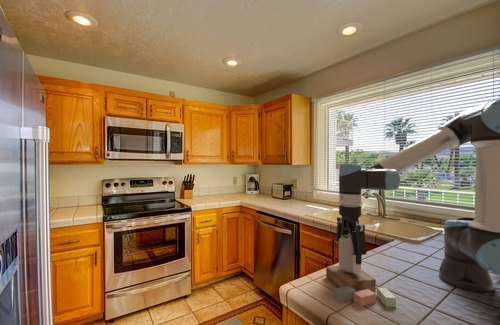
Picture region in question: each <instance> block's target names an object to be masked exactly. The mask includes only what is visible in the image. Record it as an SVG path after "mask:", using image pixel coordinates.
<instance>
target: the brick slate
mask: <svg viewBox="0 0 500 325" xmlns="http://www.w3.org/2000/svg"><path fill="white" fill-rule="evenodd" d="M354 292H356V290H355V289H353V288H352V287H350V286H346V287H341V288H337V287H336V288H334V298H335V299H336V300H337V301H338V302H340V303H344V302H348V301H354Z"/></svg>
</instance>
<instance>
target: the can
mask: <svg viewBox="0 0 500 325" xmlns="http://www.w3.org/2000/svg"><path fill="white" fill-rule="evenodd" d="M345 237H348V238H345ZM357 251H358V250H357ZM353 253H354V249H353V244H352V239H351V235H350V234H348V235H341V238H339V243H338V266H340V268H341V269H342V270H344V271H346V272H350V273H353Z"/></svg>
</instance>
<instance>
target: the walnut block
mask: <svg viewBox="0 0 500 325" xmlns="http://www.w3.org/2000/svg"><path fill="white" fill-rule="evenodd" d="M325 270H326V273H325V275H326V276H325V277H326V279H328V281H330V283H332V284H333V286H335V287H336V288H341V287H346V286H350V287H352V288H353V289H355V290H356V292H358V291H362V290H366V289H369V290H370V291H372V292H377V286H376V285H377V284H376V282H377V280H376V279H375V277H373V276H372V275H370V274H368V273H367V272H366V271H364V270H362V269H361V273H350V272H346V271H344V270H342V269H341V268H340V266H339V265H335V266H334V265H333V266H326V267H325Z"/></svg>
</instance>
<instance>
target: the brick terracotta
mask: <svg viewBox="0 0 500 325" xmlns="http://www.w3.org/2000/svg"><path fill="white" fill-rule="evenodd" d="M376 297H377V293H376V292H375V291H370V290H369V289H366V290H362V291H358V292H354V300H353V302H354V303H356V304H357V305H359V306H360V307H364V306H368V305H372V304H376V303H377V302H376V300H377V299H376Z"/></svg>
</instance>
